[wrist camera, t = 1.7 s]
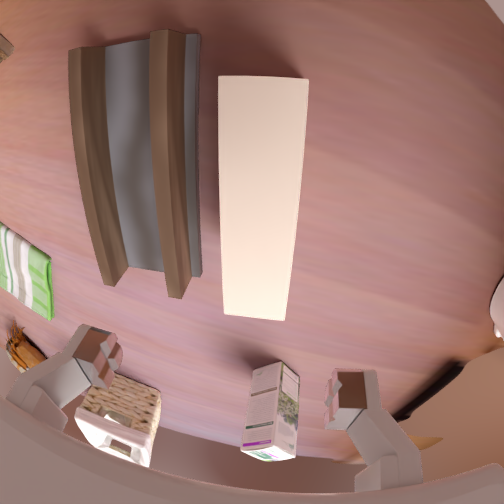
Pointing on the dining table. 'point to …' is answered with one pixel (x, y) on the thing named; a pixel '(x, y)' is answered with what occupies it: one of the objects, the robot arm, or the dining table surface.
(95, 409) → the storage basket
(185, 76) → the slot rack
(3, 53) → the wooden fragment
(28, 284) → the dish towel
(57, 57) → the dining table surface
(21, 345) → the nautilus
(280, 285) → the white rectangular block
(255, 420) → the syrup box
